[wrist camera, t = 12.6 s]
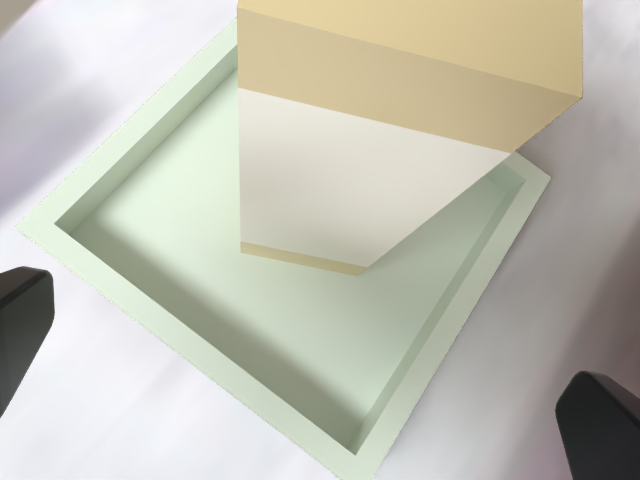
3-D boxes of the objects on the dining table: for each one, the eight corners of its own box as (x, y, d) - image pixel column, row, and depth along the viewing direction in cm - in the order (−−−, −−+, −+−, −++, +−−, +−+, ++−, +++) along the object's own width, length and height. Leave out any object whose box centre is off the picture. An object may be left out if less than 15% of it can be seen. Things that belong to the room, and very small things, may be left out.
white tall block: (356, 275, 17) (582, 97, 6) (240, 252, 17) (237, 7, 5) (372, 170, 18) (581, -146, 7) (264, 146, 18) (303, -237, 7)
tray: (347, 480, 16) (362, 495, 14) (40, 243, 16) (14, 227, 14) (522, 195, 20) (551, 177, 18) (274, 13, 20) (278, -24, 19)
